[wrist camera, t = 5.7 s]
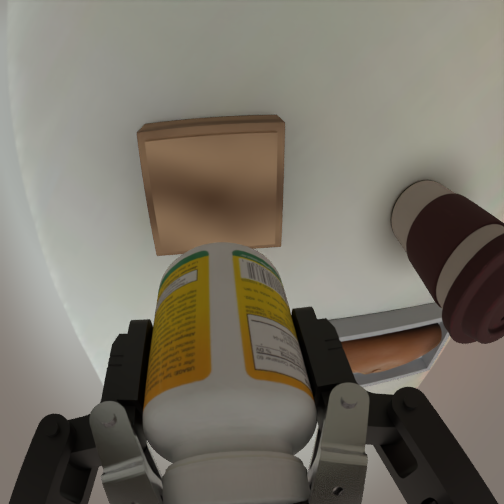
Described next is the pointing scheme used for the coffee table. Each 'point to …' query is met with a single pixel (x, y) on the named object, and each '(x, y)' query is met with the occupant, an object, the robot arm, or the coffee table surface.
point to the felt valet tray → (388, 324)
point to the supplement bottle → (227, 382)
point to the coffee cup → (455, 258)
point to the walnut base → (214, 181)
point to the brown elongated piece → (391, 348)
